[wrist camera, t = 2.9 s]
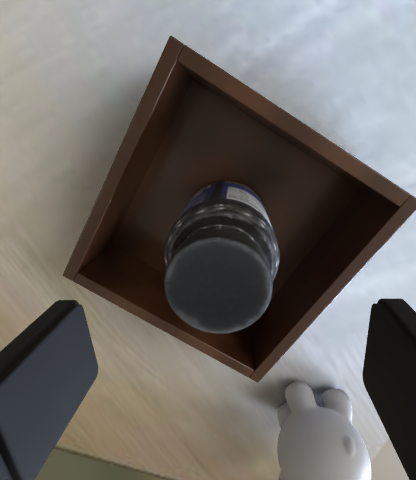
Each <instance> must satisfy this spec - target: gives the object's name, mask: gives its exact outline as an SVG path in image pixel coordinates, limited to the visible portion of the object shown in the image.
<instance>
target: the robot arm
mask: <svg viewBox="0 0 416 480" xmlns="http://www.w3.org/2000/svg"><path fill="white" fill-rule="evenodd" d="M97 374H98V364H97V360H96V356H95V352H94V348H93V344H92V341H91V337H90V333H89V329H88V325H87V321H86V317H85V313H84V309H83V306H82V305H80V304H79V303H78V302H77V301H75V300H59V301H57V302H55V303H54V304H53V305H52V306H51V307H50V308H48V309H47V310H46V311H45V312H44V313H43V314H42V315H41V316H40V317H38V318H37V319H36V320H35V321H34V322H33V323H32V324H31V325H29V326H28V327H27V328H26V329H25V330H24V331H23V332H22V333H21V334H19V335H18V336H17V337H16V338H15V339H14V340H13V341H12V342H11V343H9V344H8V345H7V346H6V347H5V348H4V349H3V350H2V351H1V352H0V480H35V478H36V477H37V475H38V473H39V471H40V470H41V468H42V467H43V465H44V463H45V462H46V459H47V458H48V456H49V455H50V453H51V452H52V450H53V448H54V447H55V445H56V443H57V442H58V440H59V438H60V437H61V435H62V433H63V432H64V430H65V428H66V427H67V425H68V423H69V422H70V420H71V419H72V417H73V415H74V414H75V412H76V410H77V409H78V407H79V405H80V404H81V402H82V400H83V399H84V397H85V395H86V394H87V392H88V390H89V389H90V387H91V385H92V384H93V382H94V380H95V379H96V377H97ZM363 382H364V385H365V388H366V390H367V392H368V394H369V396H370V398H371V400H372V402H373V404H374V406H375V409H376V411H377V413H378V415H379V417H380V419H381V421H382V423H383V425H384V427H385V429H386V432H387V434H388V436H389V438H390V440H391V442H392V444H393V446H394V448H395V450H396V452H397V454H398V457H399V459H400V461H401V463H402V465H403V467H404V469H405V471H406V473H407V475H408V477H409V479H410V480H416V312H415V311H414V310H413V309H412V308H411V307H410V306H409V305H408V304H407V303H406V302H405V301H404V300H403V299H380V300H379V301H378V303H377V304H373V305H372V308H371V315H370V322H369V330H368V337H367V345H366V353H365V360H364V368H363Z"/></svg>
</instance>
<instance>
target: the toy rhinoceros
mask: <svg viewBox="0 0 416 480" xmlns="http://www.w3.org/2000/svg"><path fill="white" fill-rule="evenodd" d="M285 398H286V401H287V403H285V404H283V405H281V406H280V407H279V408H278V421H279V424H280V427H281V431H280V434H279V438H278V459H279V464H280V468H281V473H280V476H279V480H371V464H370V458H369V454H368V451H367V448H366V446H365V444H364V442H363V440H362V438H361V436H360V435H359V433H358V432H357V430H356V429H355V428H354V427H353V426H352V405H351V401H350V399H349V397H348V395H347V394H346V393H345V392H344V391H342V390H340V389H328V390H326V391H324V392H323V393H322V396H321V403H322V407H320V406H318V405H317V404H316V402H315V398H314V394H313V392H312V390H311V388H310V387H309V386H308V385H307V384H306V383H304V382H301V381H296V382H293V383H291V384H290V385H289V386H288V387H287V388H286V390H285Z"/></svg>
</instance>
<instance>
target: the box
mask: <svg viewBox="0 0 416 480" xmlns="http://www.w3.org/2000/svg"><path fill="white" fill-rule="evenodd" d="M216 181H235V182H239V183H243V184H245V185H247V186H248V187H249V188H250V189H252V190H253V191H254V192H255V193H256V194H257V195H258V196H259V198H260V199H261V201H262V203H263V205H264V208H265V211H266V213H267V216H268V218H269V221H270V224H271V226H272V229H273V231H274V234H275V236H276V239H277V242H278V247H279V251H280V257H279V266H278V270H277V273H276V277H275V279H274V280H273V290H272V296H271V299H270V303H269V305H268V307H267V309H266V310H265V311H264V312H263V314H262V316H261V317H260V318H259V319H258V320H256V321H255V322H254V323H253V324H251V325H250V326H248V327H246V328H244V329H241V330H238V331H235V332H230V333H211V332H205V331H201V330H199V329H196V328H194V327H192V326H190V325H189V324H187V323H185V322H184V321H183V320H182V319H181V318H180V317H179V316H177V315H176V313H175V312H174V311H173V310H172V308H171V306H170V305H169V303H168V300H167V298H166V294H165V289H164V277H165V272H166V264H165V258H164V256H165V253H164V251H165V244H166V240H167V237H168V234H169V233H170V230H171V228H172V226H173V225H174V223H175V222H176V221H177V219H178V218H179V217H180V215H181V214H182V212H183V211H184V209H185V208H186V206H187V205H188V203H189V202H190V201H191V199H192V198H193V196H194V195H195V194H196V193H197V192H198V191H199V190H200V189H202V188H203V187H204V186H206V185H208V184H210V183H212V182H216ZM415 210H416V198H415V197H414V196H412V195H410V194H409V193H408V192H406V191H405V190H403V189H402V188H400V187H399V186H397V185H396V184H394V183H393V182H391V181H390V180H388V179H387V178H385V177H384V176H382V175H381V174H379V173H378V172H376V171H375V170H373V169H372V168H370V167H369V166H367V165H366V164H364V163H363V162H361V161H360V160H358V159H357V158H355V157H354V156H352V155H350V154H349V153H347V152H346V151H344V150H343V149H341V148H340V147H338V146H337V145H335V144H334V143H332V142H331V141H329V140H328V139H326V138H325V137H323V136H322V135H320V134H319V133H317V132H316V131H314V130H313V129H311V128H310V127H308V126H307V125H305V124H304V123H302V122H301V121H299V120H298V119H296V118H295V117H293V116H292V115H290V114H289V113H287V112H286V111H284V110H283V109H281V108H280V107H278V106H277V105H275V104H274V103H272V102H271V101H269V100H268V99H266V98H265V97H263V96H262V95H260V94H259V93H257V92H256V91H254V90H252V89H251V88H249V87H248V86H246V85H245V84H243V83H242V82H240V81H239V80H237V79H236V78H234V77H233V76H231V75H230V74H228V73H227V72H225V71H224V70H222V69H221V68H219V67H218V66H216V65H215V64H213V63H212V62H210V61H209V60H207V59H206V58H204V57H203V56H201V55H200V54H198V53H197V52H195V51H194V50H192V49H191V48H189V47H188V46H186V45H184V44H183V43H181V42H180V41H178V40H177V39H175V38H174V37H172V36H170V37H169V39H168V41H167V44H166V46H165V48H164V50H163V53H162V55H161V57H160V59H159V62H158V64H157V66H156V68H155V70H154V73H153V75H152V77H151V79H150V82H149V84H148V86H147V88H146V91H145V93H144V95H143V97H142V99H141V102H140V104H139V106H138V108H137V111H136V113H135V115H134V117H133V120H132V122H131V124H130V126H129V128H128V131H127V133H126V135H125V137H124V140H123V142H122V144H121V146H120V149H119V151H118V153H117V155H116V157H115V160H114V162H113V164H112V166H111V169H110V171H109V173H108V175H107V178H106V180H105V182H104V184H103V186H102V189H101V191H100V193H99V195H98V198H97V200H96V202H95V204H94V207H93V209H92V211H91V213H90V216H89V218H88V220H87V222H86V224H85V227H84V229H83V231H82V233H81V236H80V238H79V240H78V242H77V245H76V247H75V249H74V251H73V253H72V256H71V258H70V260H69V262H68V265H67V267H66V269H65V271H64V274H63V276H64V277H66V278H68V279H70V280H72V281H74V282H76V283H77V284H79V285H81V286H83V287H85V288H86V289H88V290H90V291H92V292H94V293H96V294H97V295H99V296H101V297H103V298H105V299H107V300H108V301H110V302H112V303H114V304H116V305H117V306H119V307H121V308H123V309H125V310H127V311H128V312H130V313H132V314H134V315H136V316H138V317H139V318H141V319H143V320H145V321H147V322H148V323H150V324H152V325H154V326H156V327H158V328H159V329H161V330H163V331H165V332H167V333H169V334H170V335H172V336H174V337H176V338H178V339H179V340H181V341H183V342H185V343H187V344H189V345H190V346H192V347H194V348H196V349H198V350H200V351H201V352H203V353H205V354H207V355H209V356H210V357H212V358H214V359H216V360H218V361H220V362H221V363H223V364H225V365H227V366H229V367H231V368H232V369H234V370H236V371H238V372H240V373H241V374H243V375H245V376H247V377H249V378H250V379H252V380H254V381H256V382H259V381H260V380H261V379H262V378H263V377H264V375H265V374H266V373H267V372H268V371H269V370H270V369H271V368H272V367H273V366H274V365H275V363H276V362H277V361H278V360H279V359H280V358H281V357H282V356H283V355H284V354H285V352H286V351H287V350H288V349H289V348H290V347H291V346H292V345H293V344H294V343H295V342H296V340H297V339H298V338H299V337H300V336H301V335H302V334H303V333H304V332H305V331H306V329H307V328H308V327H309V326H310V325H311V324H312V323H313V322H314V321H315V320H316V319H317V317H318V316H319V315H320V314H321V313H322V312H323V311H324V310H325V309H326V308H327V306H328V305H329V304H330V303H331V302H332V301H333V300H334V299H335V298H336V297H337V296H338V294H339V293H340V292H341V291H342V290H343V289H344V288H345V287H346V286H347V285H348V283H349V282H350V281H351V280H352V279H353V278H354V277H355V276H356V275H357V274H358V273H359V271H360V270H361V269H362V268H363V267H364V266H365V265H366V264H367V263H368V262H369V260H370V259H371V258H372V257H373V256H374V255H375V254H376V253H377V252H378V251H379V250H380V248H381V247H382V246H383V245H384V244H385V243H386V242H387V241H388V240H389V239H390V238H391V236H392V235H393V234H394V233H395V232H396V231H397V230H398V229H399V228H400V227H401V225H402V224H403V223H404V222H405V221H406V220H407V219H408V218H409V217H410V216H411V215H412V213H413V212H414V211H415Z"/></svg>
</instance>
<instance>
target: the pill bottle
mask: <svg viewBox="0 0 416 480" xmlns="http://www.w3.org/2000/svg"><path fill="white" fill-rule="evenodd" d="M164 253H165V256H164V258H165V264H166V272H165V277H164V289H165V294H166V298H167V300H168V303H169V305H170V306H171V308H172V310H173V311H174V312H175V313H176V315H177V316H179V317H180V318H181V319H182V320H183V321H184V322H185V323H187V324H189V325H190V326H192V327H194V328H196V329H199V330H201V331H205V332H211V333H230V332H235V331H238V330H241V329H244V328H246V327H248V326H250V325H251V324H253V323H254V322H255V321H256V320H258V319H259V318H260V317H261V316H262V314H263V312H264V311H265V310H266V309H267V307H268V305H269V303H270V299H271V296H272V290H273V280H274V279H275V277H276V273H277V270H278V266H279V257H280V251H279V247H278V242H277V239H276V236H275V234H274V231H273V229H272V226H271V224H270V221H269V218H268V216H267V213H266V211H265V208H264V205H263V203H262V201H261V199H260V198H259V196H258V195H257V194H256V193H255V192H254V191H253V190H252V189H250V188H249V187H248V186H247V185H245V184H243V183H239V182H235V181H216V182H212V183H210V184H208V185H206V186H204V187H203V188H202V189H200V190H199V191H198V192H197V193H196V194H195V195H194V196H193V198H192V199H191V201H190V202H189V203H188V205H187V206H186V208H185V209H184V211H183V212H182V214H181V215H180V217H179V218H178V219H177V221H176V222H175V223H174V225H173V226H172V228H171V230H170V233H169V234H168V237H167V240H166V244H165V251H164Z"/></svg>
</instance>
